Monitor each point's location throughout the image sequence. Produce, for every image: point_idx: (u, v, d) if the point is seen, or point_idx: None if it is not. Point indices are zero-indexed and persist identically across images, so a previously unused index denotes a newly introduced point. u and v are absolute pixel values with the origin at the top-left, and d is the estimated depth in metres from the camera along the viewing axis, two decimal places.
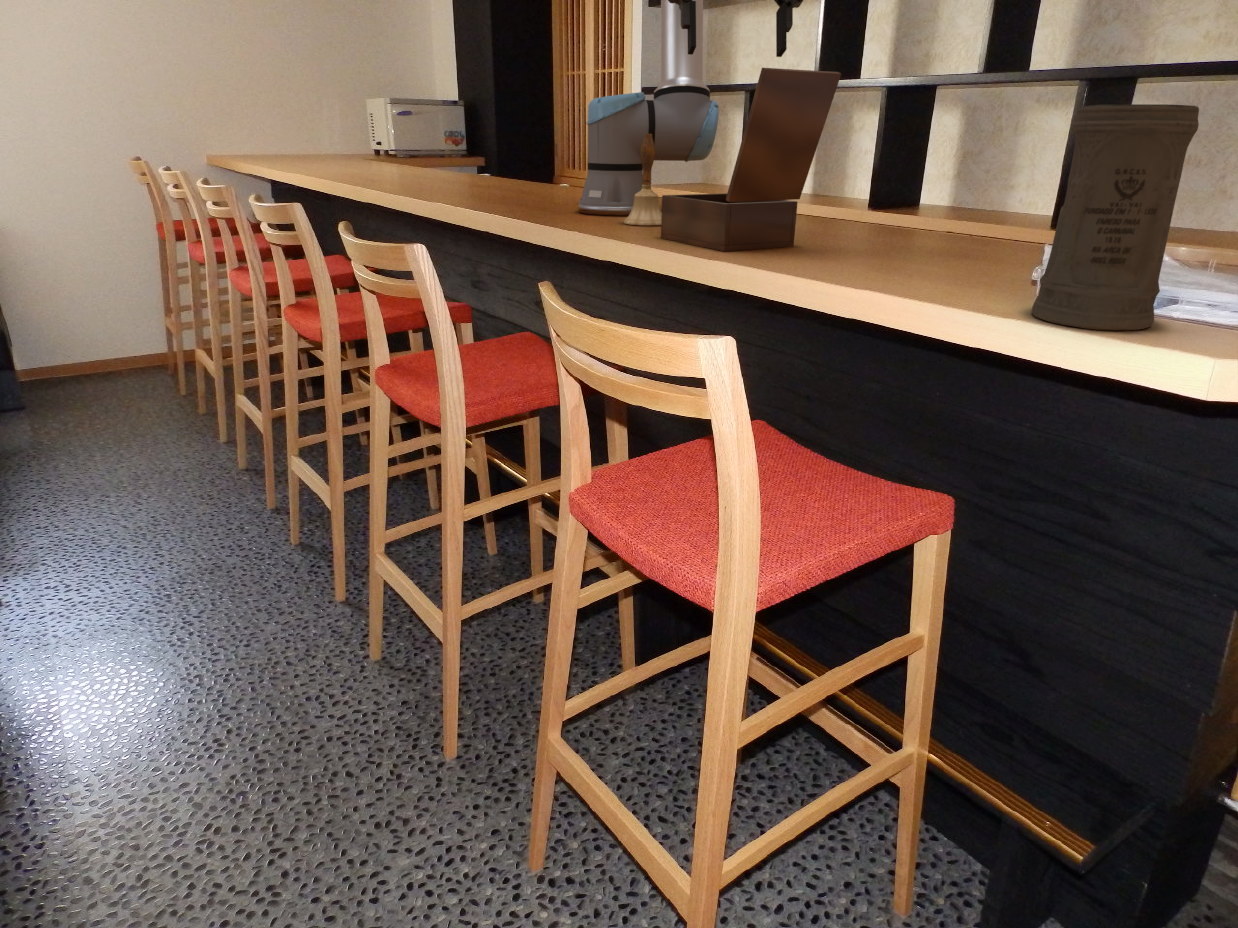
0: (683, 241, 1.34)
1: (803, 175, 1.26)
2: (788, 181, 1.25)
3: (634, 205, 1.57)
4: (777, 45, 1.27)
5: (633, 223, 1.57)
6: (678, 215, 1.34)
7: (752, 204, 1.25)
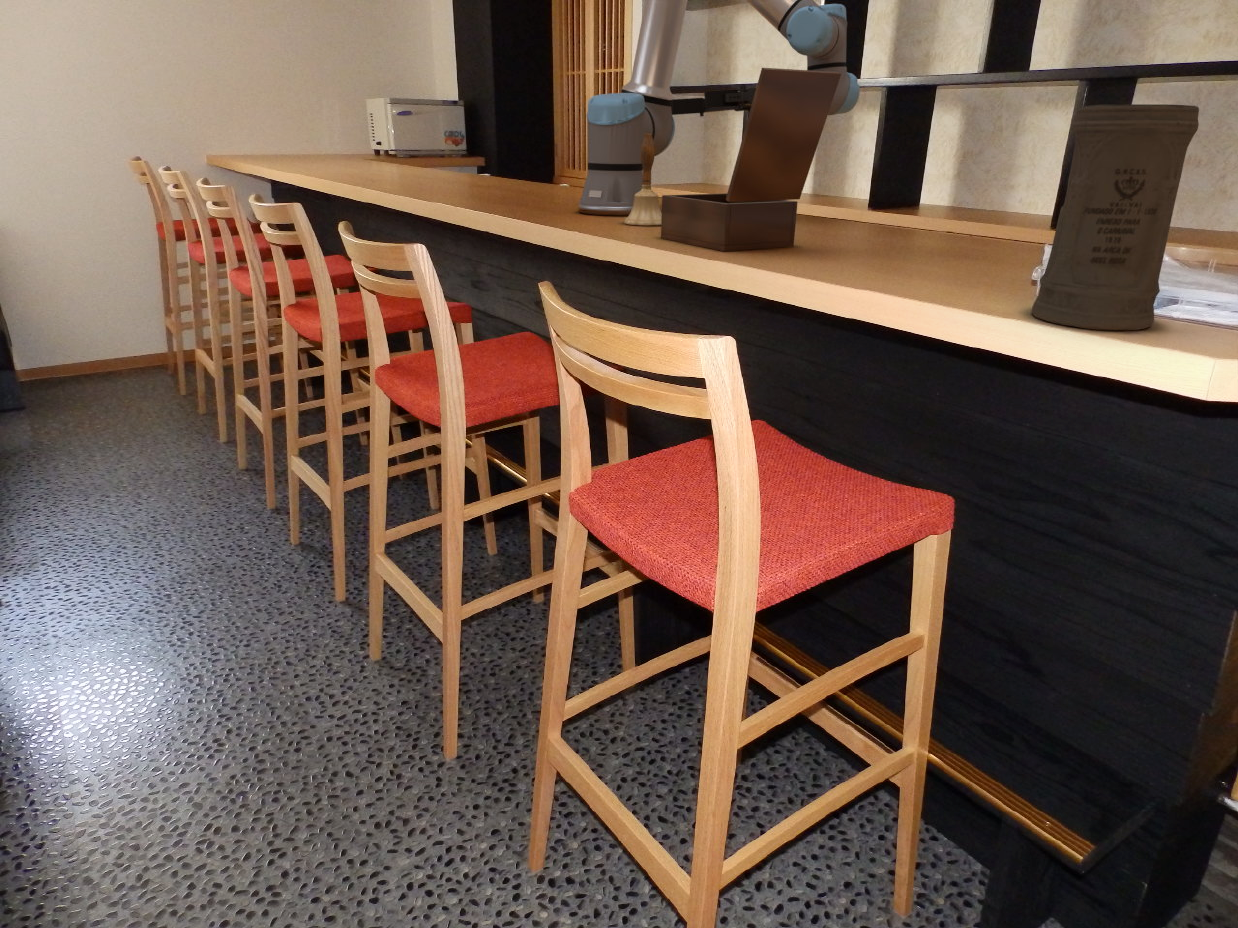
0: (683, 241, 1.34)
1: (803, 175, 1.26)
2: (788, 181, 1.25)
3: (634, 205, 1.57)
4: (679, 101, 1.62)
5: (633, 223, 1.57)
6: (678, 215, 1.34)
7: (752, 204, 1.25)
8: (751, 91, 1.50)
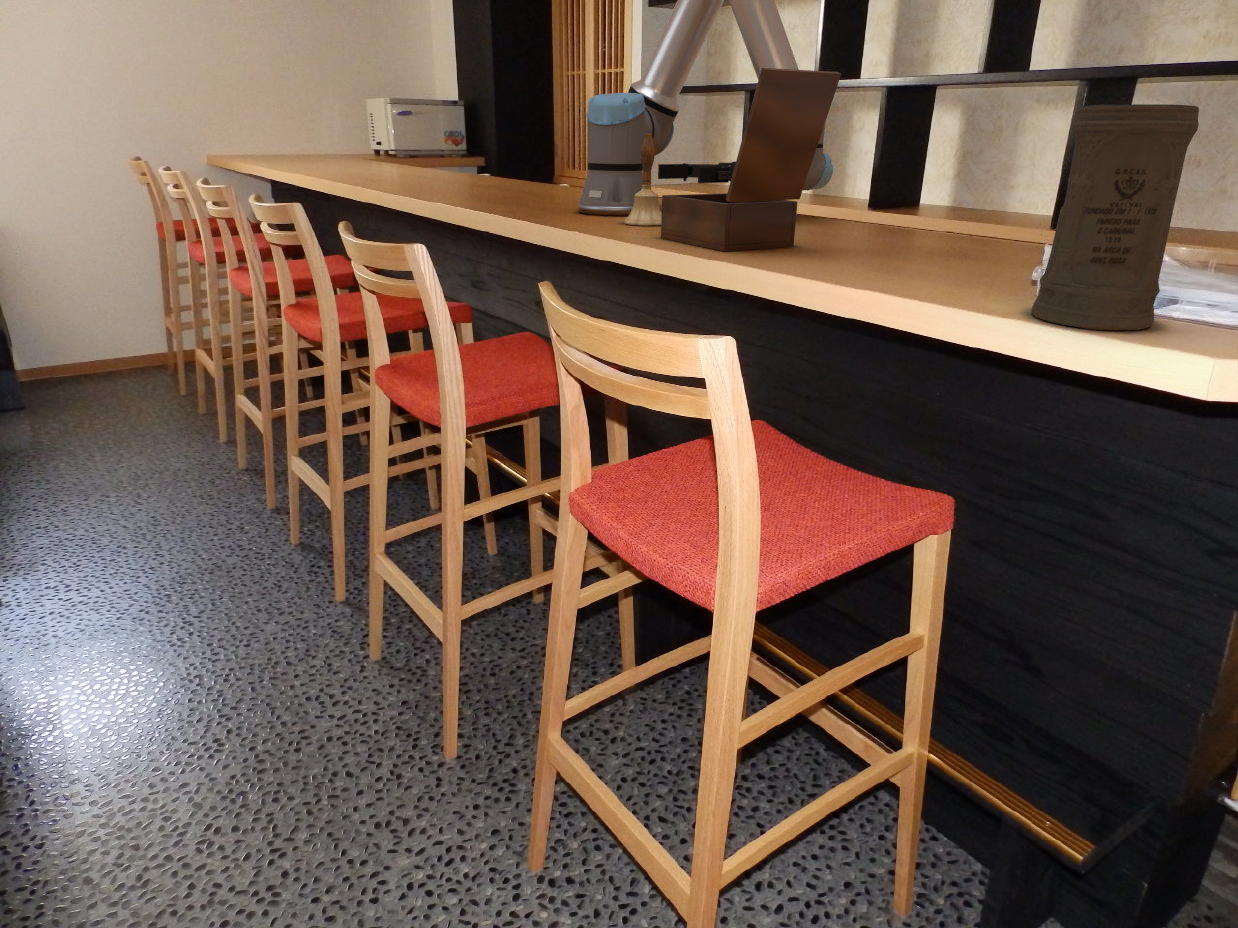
0: (683, 241, 1.34)
1: (803, 175, 1.26)
2: (788, 181, 1.25)
3: (634, 205, 1.57)
4: (666, 166, 1.65)
5: (633, 223, 1.57)
6: (678, 215, 1.34)
7: (752, 204, 1.25)
8: None
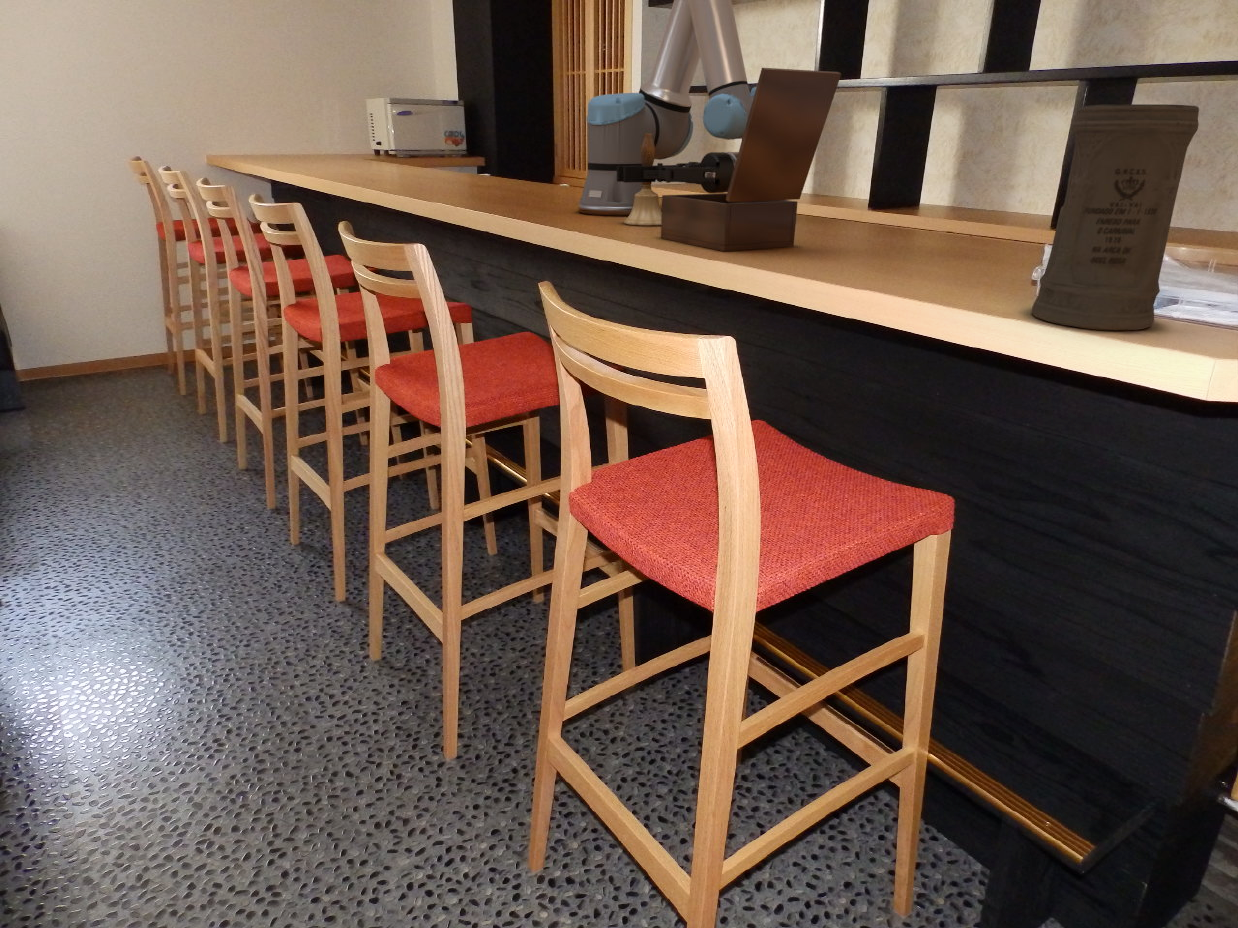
0: (683, 241, 1.34)
1: (803, 175, 1.26)
2: (788, 181, 1.25)
3: (634, 205, 1.57)
4: None
5: (633, 223, 1.56)
6: (678, 215, 1.34)
7: (752, 204, 1.25)
8: (667, 171, 1.54)
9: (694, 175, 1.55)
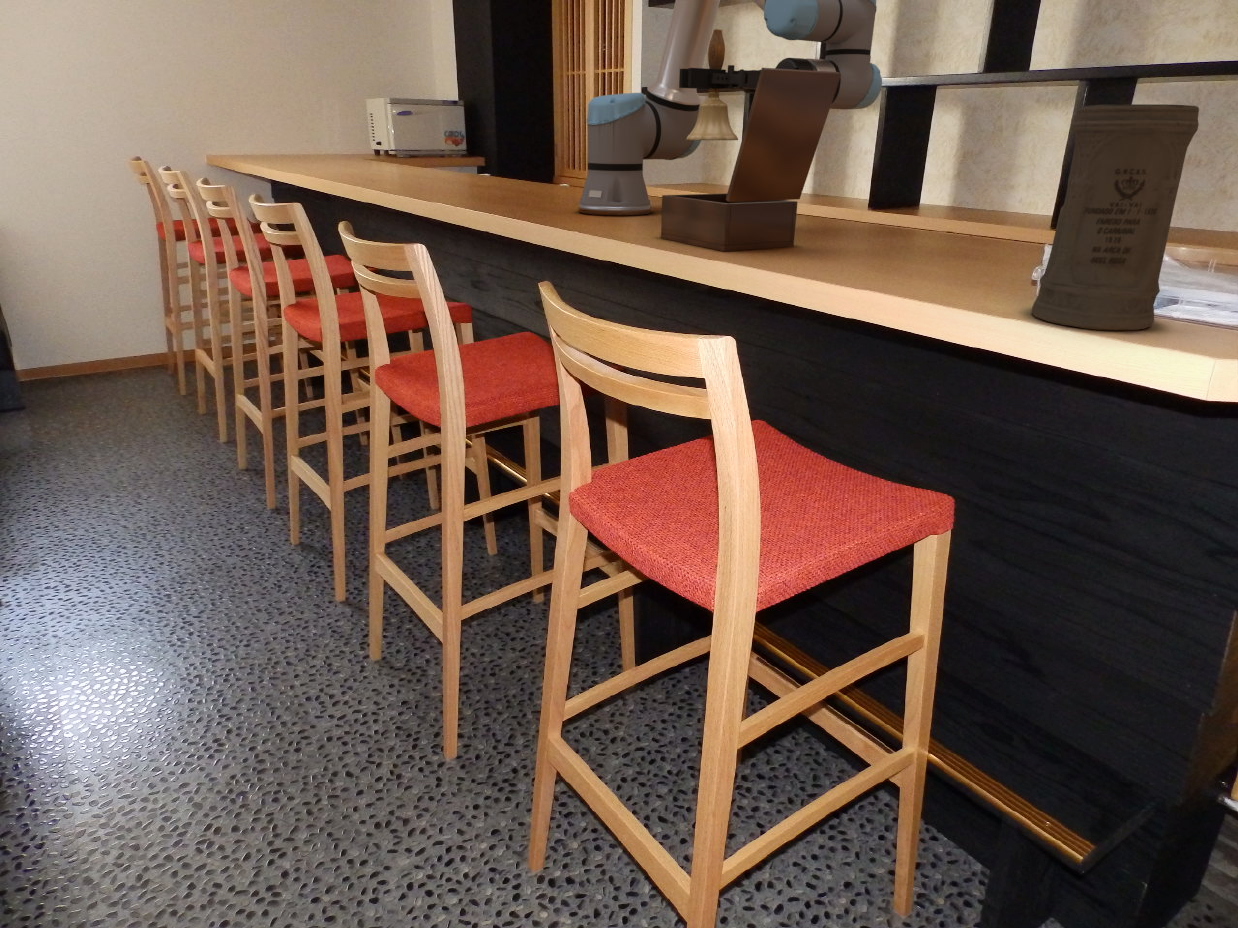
0: (683, 241, 1.34)
1: (803, 175, 1.26)
2: (788, 181, 1.25)
3: (700, 117, 1.33)
4: None
5: (698, 138, 1.32)
6: (678, 215, 1.34)
7: (752, 204, 1.25)
8: (740, 73, 1.29)
9: None
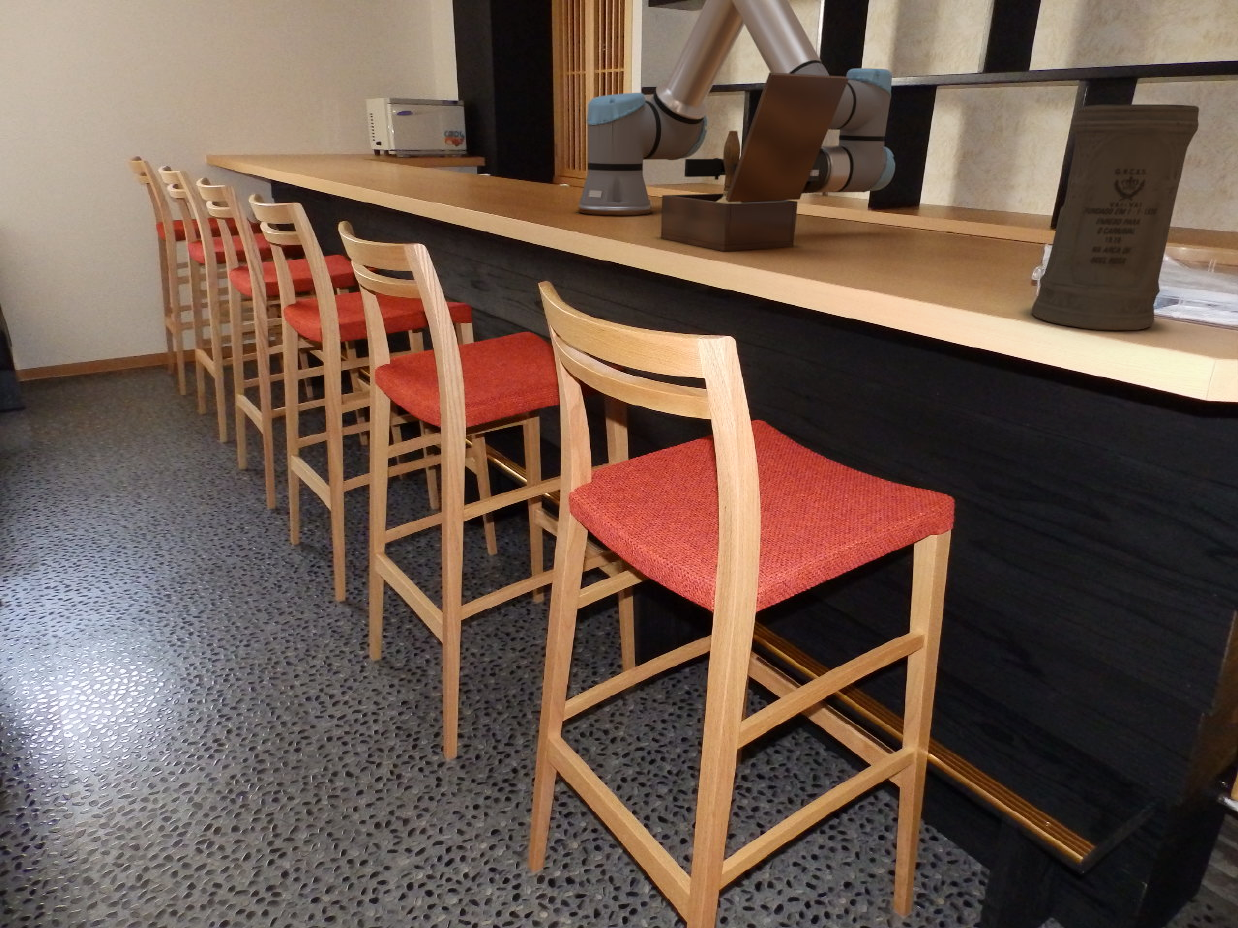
0: (683, 241, 1.34)
1: (805, 177, 1.26)
2: (789, 182, 1.25)
3: None
4: (695, 161, 1.36)
5: None
6: (678, 215, 1.34)
7: (752, 204, 1.25)
8: None
9: None
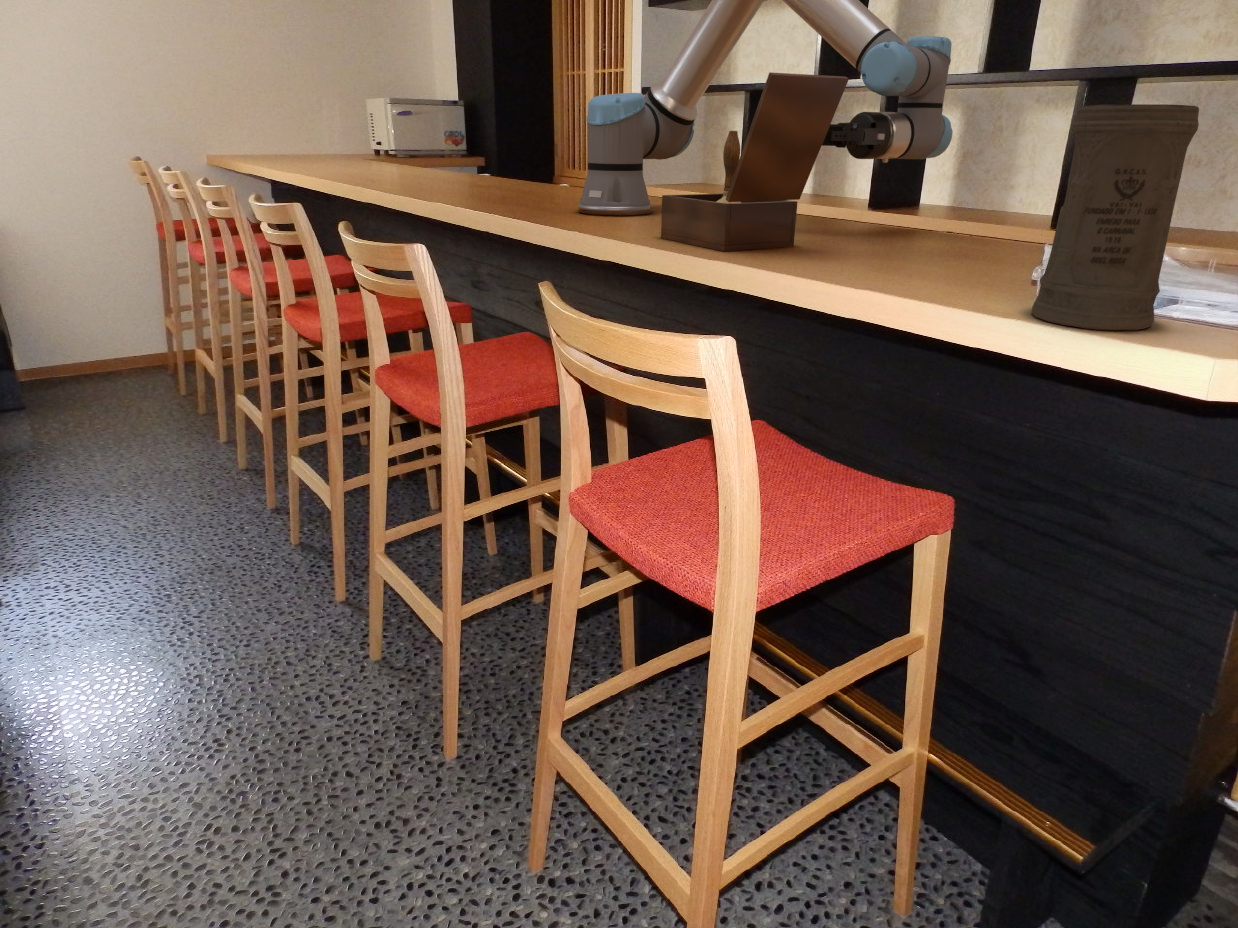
0: (683, 241, 1.34)
1: (805, 177, 1.26)
2: (789, 182, 1.25)
3: None
4: None
5: None
6: (678, 215, 1.34)
7: (752, 204, 1.25)
8: (861, 131, 1.29)
9: (873, 136, 1.34)
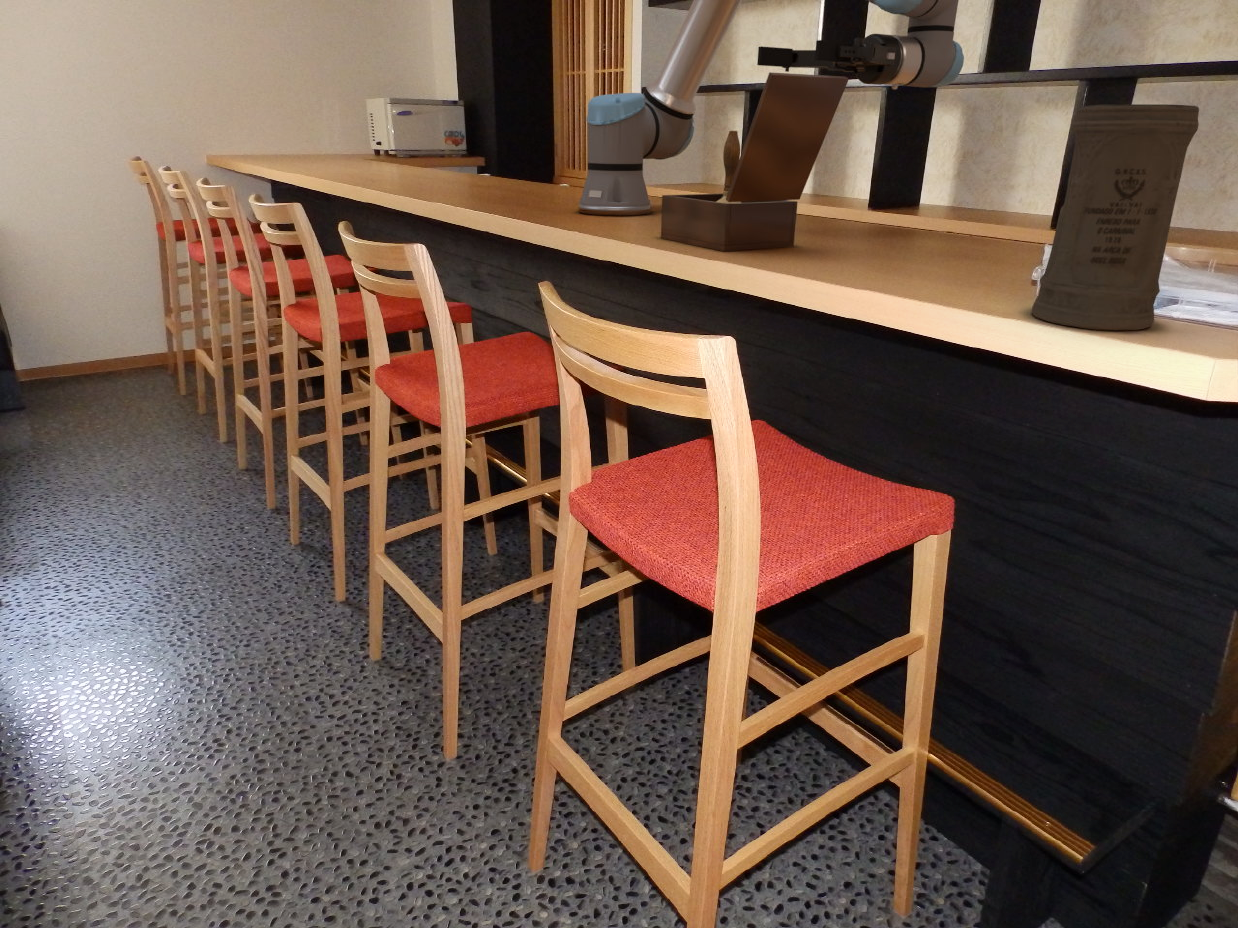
0: (683, 241, 1.34)
1: (805, 177, 1.26)
2: (789, 182, 1.25)
3: None
4: (768, 49, 1.35)
5: None
6: (678, 215, 1.34)
7: (752, 204, 1.25)
8: (871, 46, 1.25)
9: (883, 54, 1.29)
